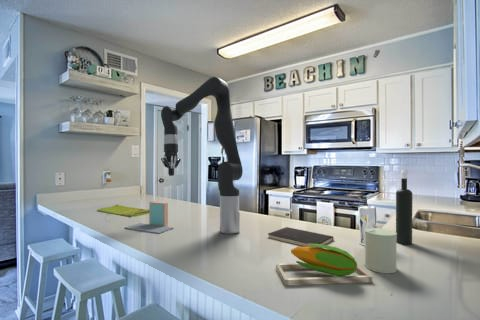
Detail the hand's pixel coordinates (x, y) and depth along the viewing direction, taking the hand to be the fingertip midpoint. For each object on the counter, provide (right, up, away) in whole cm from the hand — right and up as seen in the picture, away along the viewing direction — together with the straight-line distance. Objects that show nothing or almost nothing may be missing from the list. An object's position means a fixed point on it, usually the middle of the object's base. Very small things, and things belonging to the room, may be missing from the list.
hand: (171, 175), depth 144 cm
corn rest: (+61, -26, -64) cm, 92 cm away
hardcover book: (+63, -27, -28) cm, 74 cm away
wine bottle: (+105, -26, -33) cm, 113 cm away
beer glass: (+89, -26, -34) cm, 99 cm away
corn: (+61, -25, -63) cm, 91 cm away
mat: (-8, -25, -12) cm, 29 cm away
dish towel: (-38, -26, +30) cm, 55 cm away
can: (+82, -26, -58) cm, 104 cm away
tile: (-5, -26, -5) cm, 27 cm away
